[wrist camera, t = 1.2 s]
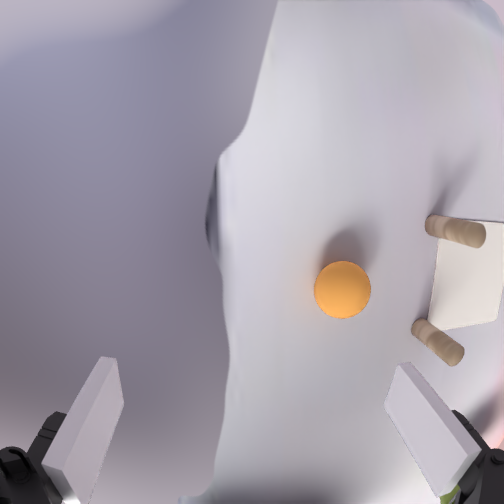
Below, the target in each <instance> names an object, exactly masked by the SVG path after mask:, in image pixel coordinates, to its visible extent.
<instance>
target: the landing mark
mask: <svg viewBox="0 0 504 504" xmlns="http://www.w3.org/2000/svg"><path fill="white" fill-rule="evenodd" d="M467 221H469V220H467ZM472 222H477V223H481V224H483V225H484V227H485V229H486V239H485V242H484V244H483V245H482V246H481V247H480V248H473V247H470V246H466V245H463V244H459V243H456V242H453V241H449V240H446V239H442V238H439V239H438V249H437V258H436V267H435V274H434V281H433V288H432V295H431V301H430V307H429V312H428V318H427V321H428V322H430V323H431V324H432V325H434V326H435V327H437V328H438V329H439V330H441V331H443V330H449V329H455V328H461V327H466V326H472V325H477V324H483V323H488V322H493V321H496V319H497V315H498V311H499V306H500V302H501V297H502V292H503V286H504V223H494V222H482V221H472Z"/></svg>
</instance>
